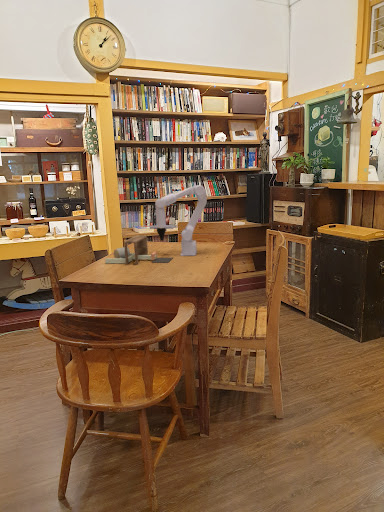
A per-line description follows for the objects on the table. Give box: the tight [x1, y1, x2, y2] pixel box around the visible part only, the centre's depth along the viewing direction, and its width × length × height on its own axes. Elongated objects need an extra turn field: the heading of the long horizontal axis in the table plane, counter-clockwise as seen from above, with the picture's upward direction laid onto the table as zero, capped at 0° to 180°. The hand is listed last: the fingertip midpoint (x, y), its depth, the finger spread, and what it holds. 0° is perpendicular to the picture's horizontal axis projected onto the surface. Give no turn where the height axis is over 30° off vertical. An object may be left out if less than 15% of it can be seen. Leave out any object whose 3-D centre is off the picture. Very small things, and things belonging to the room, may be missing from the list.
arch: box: [123, 234, 149, 266], centre depth 219 cm, size 7×22×14 cm, turn 170°
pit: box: [151, 257, 174, 264], centre depth 217 cm, size 10×12×1 cm
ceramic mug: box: [113, 246, 131, 258], centre depth 222 cm, size 11×8×8 cm
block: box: [104, 251, 158, 264], centre depth 220 cm, size 28×17×4 cm, turn 80°
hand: (162, 240), depth 228 cm, fingers closed
